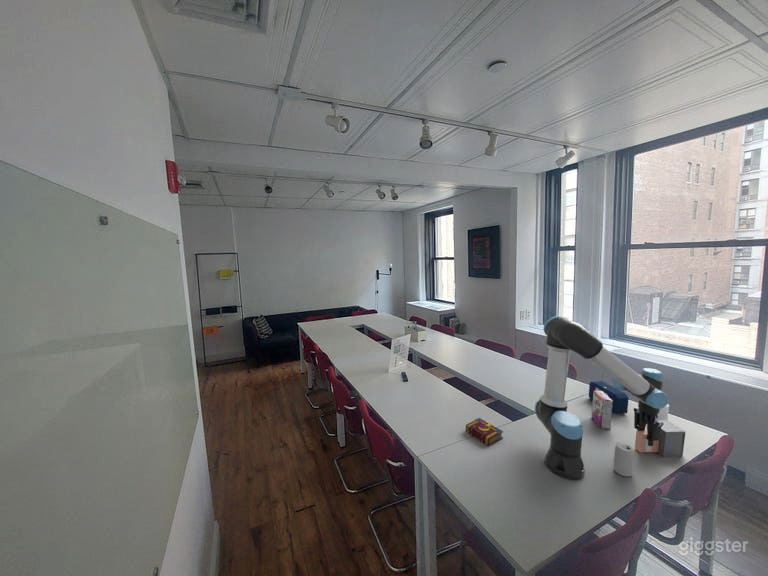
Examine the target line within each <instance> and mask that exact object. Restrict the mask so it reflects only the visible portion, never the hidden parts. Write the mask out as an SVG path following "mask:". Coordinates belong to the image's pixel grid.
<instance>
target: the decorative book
mask: <svg viewBox="0 0 768 576" xmlns="http://www.w3.org/2000/svg"><path fill="white" fill-rule="evenodd" d="M465 432H466V433H468V434H469V435H470V436H471V437H472V438H475V439H477V440H479V442H480V443H481V444H485V445H486V446H488V447H490V446H492V445H493V444H495V443H496V442H499V441H501V440H503V439H504V437H503V436H502V434H503V433H504V430H502V429H500V428H498V427H496V426H494V425H493V424H492V423H489V422H487V421H486V420H484V419H482V418H480V417H478V418H476V419H474V420H473V421H471V422H468V423H467V424H465Z"/></svg>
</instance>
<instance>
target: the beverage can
mask: <svg viewBox="0 0 768 576" xmlns="http://www.w3.org/2000/svg"><path fill="white" fill-rule="evenodd" d="M634 458H635V451H634V448H633V446H631V445H629V444H627V443H624V442H616V445H614V457H613V467H612V468H613V470H614V471H615V472H616V473H617V474H618V475H619V476H623V477H631V476H632V475H633V468H634Z"/></svg>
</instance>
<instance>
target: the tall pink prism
mask: <svg viewBox="0 0 768 576" xmlns="http://www.w3.org/2000/svg"><path fill="white" fill-rule="evenodd" d="M646 437H647V430H645V431H637V430H636V433H635V441H634V443H635V444H634V450H636V451H637V452H639V453H658V452H659V443H660V436H659V440H658V441H654V442H653V446H652V450H651V451H644V449H645V439H646Z"/></svg>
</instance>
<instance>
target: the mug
mask: <svg viewBox="0 0 768 576" xmlns="http://www.w3.org/2000/svg"><path fill="white" fill-rule="evenodd" d="M669 411H670V405H669V403H668V404H667V405H666V406H665V407H664V408H661V409H660V411H659V413H658V414H657V416H658V420H667V421H669V420H668V419H669Z"/></svg>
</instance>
